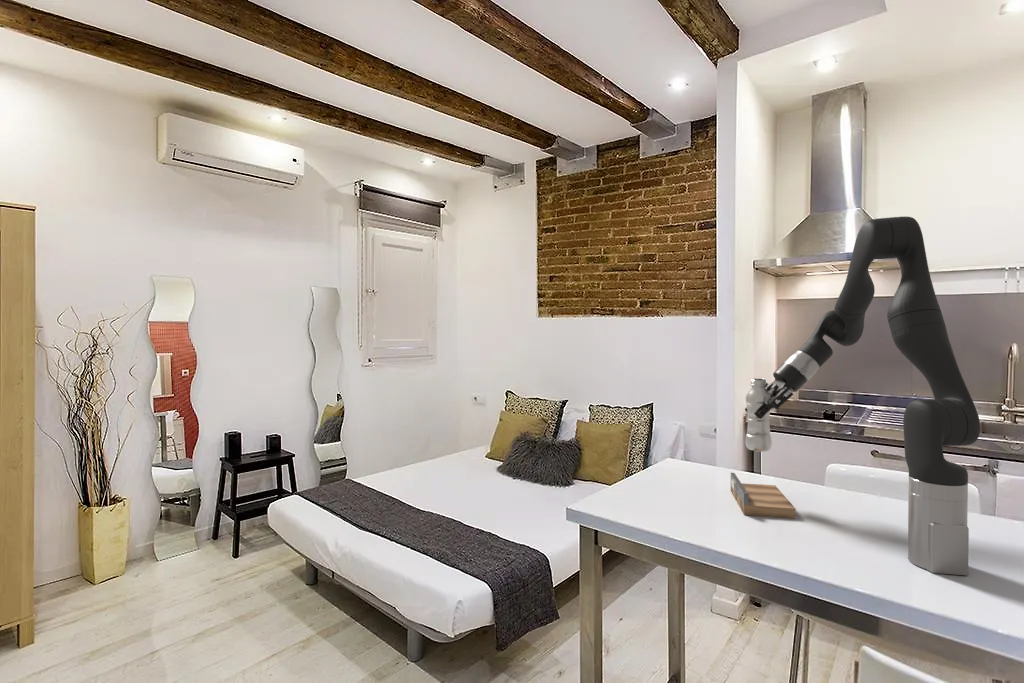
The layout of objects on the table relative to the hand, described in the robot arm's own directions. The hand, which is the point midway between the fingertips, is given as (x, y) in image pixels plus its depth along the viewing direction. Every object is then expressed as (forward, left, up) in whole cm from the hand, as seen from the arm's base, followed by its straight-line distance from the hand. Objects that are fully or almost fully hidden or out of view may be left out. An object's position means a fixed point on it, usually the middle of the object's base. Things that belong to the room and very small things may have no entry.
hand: (752, 414), depth 145 cm
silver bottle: (0, -2, -10) cm, 11 cm away
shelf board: (-3, -2, -24) cm, 24 cm away
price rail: (-3, +4, -21) cm, 22 cm away
